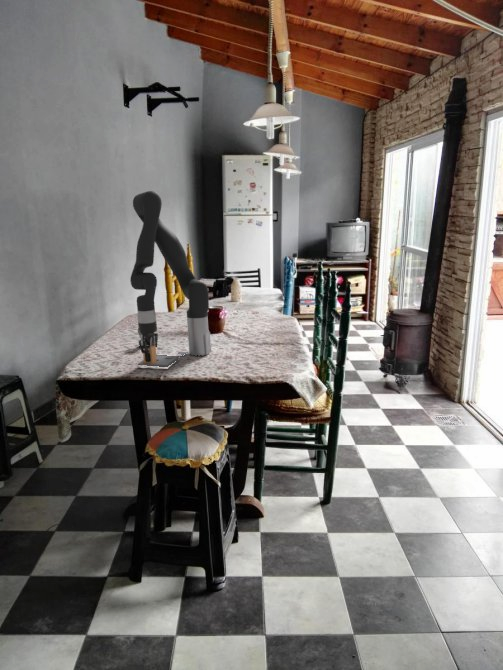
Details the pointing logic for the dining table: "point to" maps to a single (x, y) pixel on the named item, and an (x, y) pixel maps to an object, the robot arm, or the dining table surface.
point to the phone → (182, 353)
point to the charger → (151, 354)
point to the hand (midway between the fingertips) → (150, 359)
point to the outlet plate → (162, 361)
